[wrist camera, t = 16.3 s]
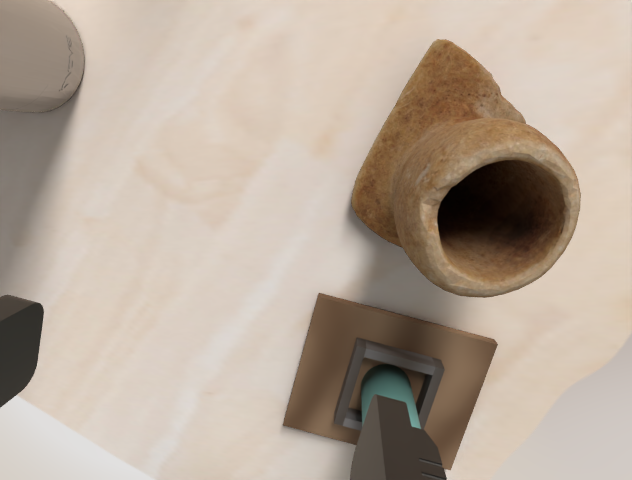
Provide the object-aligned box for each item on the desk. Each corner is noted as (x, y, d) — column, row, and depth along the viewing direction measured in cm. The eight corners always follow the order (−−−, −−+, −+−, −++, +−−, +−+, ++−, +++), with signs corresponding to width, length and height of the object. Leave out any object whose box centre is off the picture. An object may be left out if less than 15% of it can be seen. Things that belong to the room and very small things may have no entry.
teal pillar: (355, 401, 43) (356, 526, 30) (368, 358, 42) (376, 467, 29) (402, 414, 43) (425, 545, 30) (416, 371, 42) (448, 487, 28)
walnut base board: (284, 418, 45) (280, 437, 42) (318, 292, 42) (316, 303, 39) (448, 462, 45) (454, 484, 42) (494, 339, 42) (504, 353, 39)
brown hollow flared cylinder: (452, 275, 41) (510, 353, 27) (333, 206, 41) (325, 246, 26) (559, 118, 38) (692, 108, 23) (431, 39, 37) (486, -22, 23)
